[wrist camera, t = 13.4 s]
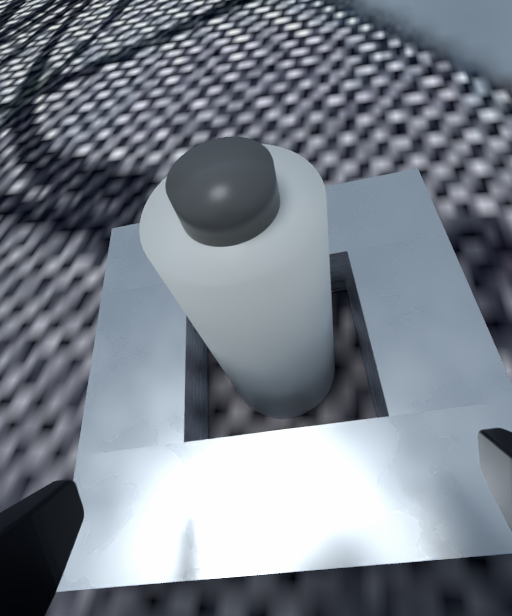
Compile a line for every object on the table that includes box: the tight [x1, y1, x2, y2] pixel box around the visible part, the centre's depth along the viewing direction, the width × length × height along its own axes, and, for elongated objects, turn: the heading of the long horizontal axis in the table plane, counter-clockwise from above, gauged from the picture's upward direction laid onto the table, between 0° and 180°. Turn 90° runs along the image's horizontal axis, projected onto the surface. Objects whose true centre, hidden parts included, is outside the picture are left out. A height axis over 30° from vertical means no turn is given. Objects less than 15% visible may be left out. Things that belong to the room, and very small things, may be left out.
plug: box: [139, 137, 335, 419], centre depth 13 cm, size 4×4×11 cm
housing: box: [56, 169, 512, 592], centre depth 17 cm, size 15×15×3 cm
